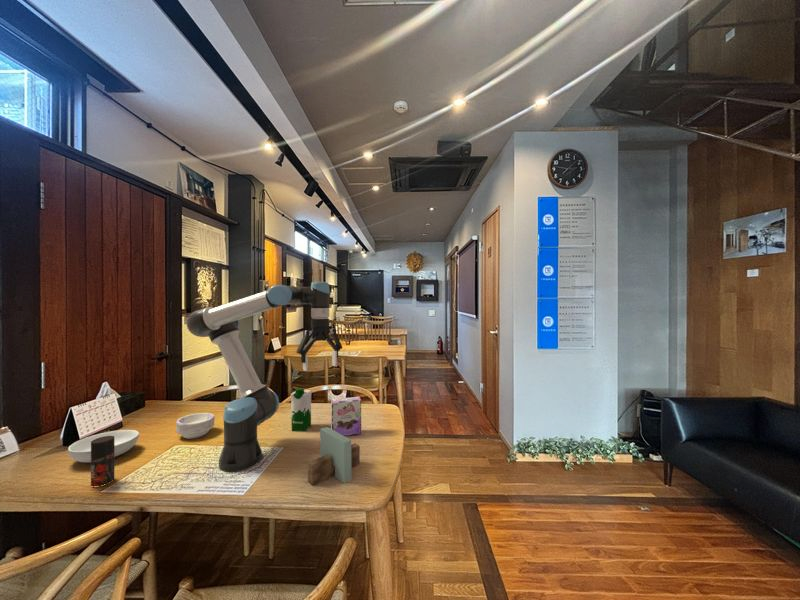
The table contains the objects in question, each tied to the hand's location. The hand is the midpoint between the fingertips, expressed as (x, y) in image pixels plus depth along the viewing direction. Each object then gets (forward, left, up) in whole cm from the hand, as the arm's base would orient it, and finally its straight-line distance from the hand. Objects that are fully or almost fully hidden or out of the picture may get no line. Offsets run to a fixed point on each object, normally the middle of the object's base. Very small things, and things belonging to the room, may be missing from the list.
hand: (320, 368), depth 131 cm
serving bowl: (-66, +57, -35) cm, 94 cm away
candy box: (+16, +5, -35) cm, 39 cm away
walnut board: (-6, -20, -34) cm, 40 cm away
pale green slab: (-6, -20, -34) cm, 40 cm away
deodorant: (-67, +32, -35) cm, 82 cm away
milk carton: (+4, +26, -35) cm, 44 cm away
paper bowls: (-35, +55, -35) cm, 74 cm away
